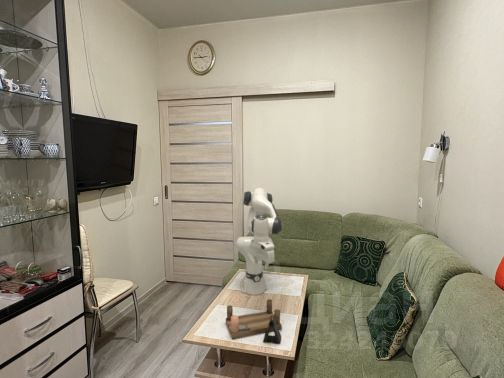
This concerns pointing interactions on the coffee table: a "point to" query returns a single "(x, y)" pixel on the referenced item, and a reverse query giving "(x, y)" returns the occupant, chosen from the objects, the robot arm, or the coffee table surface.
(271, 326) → the phone stand
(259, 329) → the stool base
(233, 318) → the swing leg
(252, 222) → the robot arm
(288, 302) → the coffee table surface
